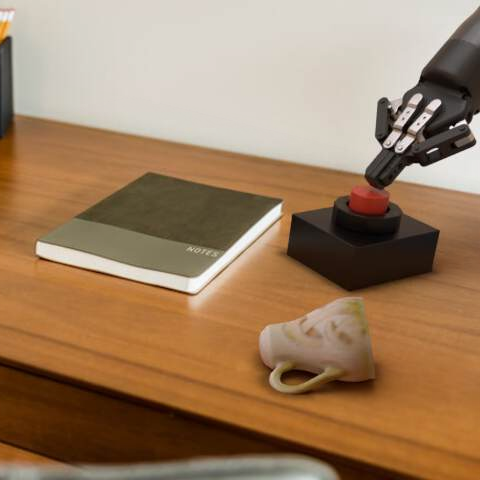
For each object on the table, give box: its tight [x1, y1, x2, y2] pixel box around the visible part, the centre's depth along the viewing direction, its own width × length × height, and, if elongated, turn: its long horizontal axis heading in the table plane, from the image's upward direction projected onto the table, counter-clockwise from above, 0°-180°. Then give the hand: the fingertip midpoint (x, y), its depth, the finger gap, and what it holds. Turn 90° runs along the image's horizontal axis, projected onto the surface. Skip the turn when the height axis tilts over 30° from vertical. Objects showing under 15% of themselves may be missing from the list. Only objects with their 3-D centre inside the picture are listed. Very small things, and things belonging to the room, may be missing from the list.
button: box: [349, 184, 391, 214], centre depth 96 cm, size 4×4×2 cm
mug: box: [258, 296, 376, 395], centre depth 76 cm, size 8×10×10 cm
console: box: [286, 194, 441, 293], centre depth 97 cm, size 12×10×7 cm
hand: (372, 183), depth 95 cm, fingers closed
